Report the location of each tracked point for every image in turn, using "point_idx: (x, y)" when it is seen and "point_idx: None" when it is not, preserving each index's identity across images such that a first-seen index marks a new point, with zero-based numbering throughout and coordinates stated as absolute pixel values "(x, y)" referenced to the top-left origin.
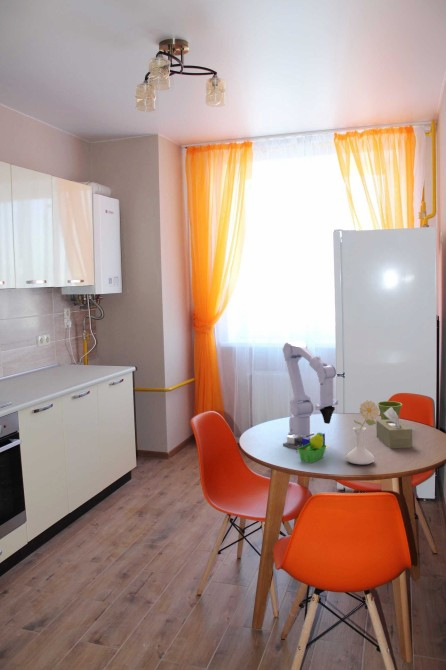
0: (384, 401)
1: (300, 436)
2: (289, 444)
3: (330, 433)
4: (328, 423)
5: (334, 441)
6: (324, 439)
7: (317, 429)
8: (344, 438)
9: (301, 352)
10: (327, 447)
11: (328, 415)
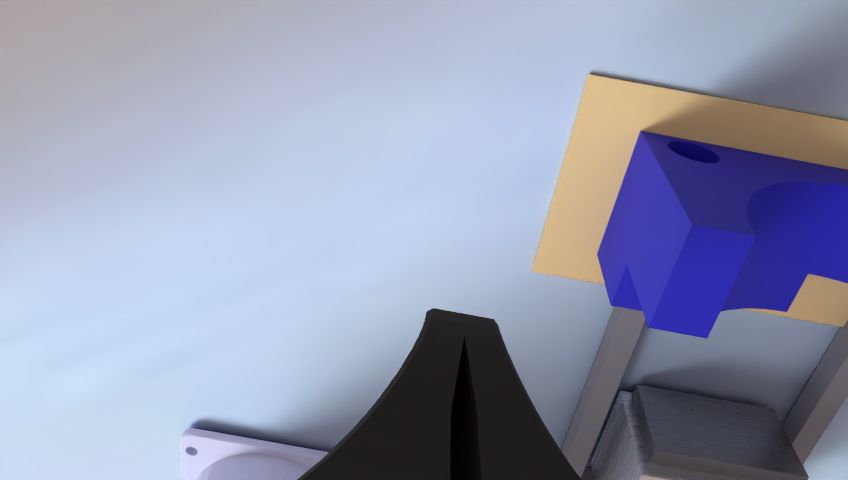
0: None
1: (686, 476)
2: None
3: (38, 299)
4: (483, 319)
5: (309, 128)
6: (677, 179)
7: (20, 450)
8: (93, 66)
9: None
10: (647, 92)
11: (567, 460)
